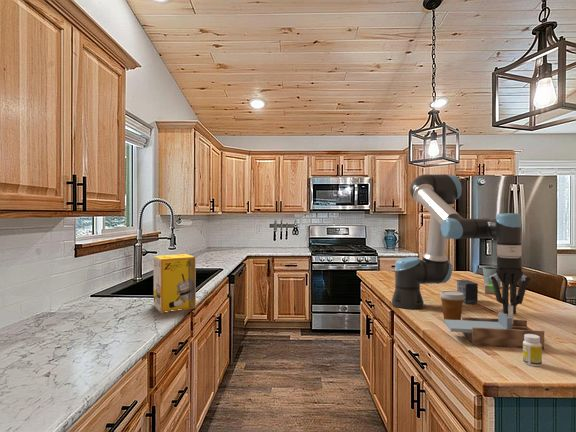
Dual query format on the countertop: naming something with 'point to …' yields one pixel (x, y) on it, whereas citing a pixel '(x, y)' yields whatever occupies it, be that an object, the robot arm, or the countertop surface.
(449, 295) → the disposable coffee cup
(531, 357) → the supplement bottle
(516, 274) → the robot arm
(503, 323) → the cover plate
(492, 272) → the drinking glass
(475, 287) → the small box
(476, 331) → the box body
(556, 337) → the countertop surface
